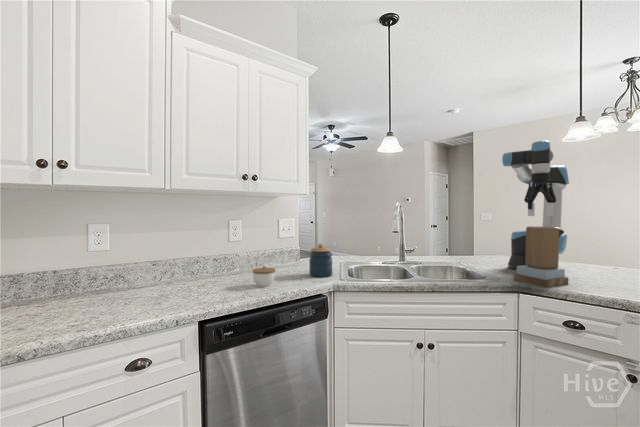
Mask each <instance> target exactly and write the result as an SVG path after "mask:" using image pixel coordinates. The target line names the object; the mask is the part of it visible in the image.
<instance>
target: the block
mask: <svg viewBox="0 0 640 427" xmlns="http://www.w3.org/2000/svg"><path fill="white" fill-rule="evenodd" d="M525 231H526V260H525V264H526V265H527V266H531V267H535V268H539V269H556V268H559V257H560V256H559V255H560V254H559V228H555V227H542V226H526V228H525Z"/></svg>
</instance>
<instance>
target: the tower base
mask: <svg viewBox="0 0 640 427" xmlns="http://www.w3.org/2000/svg"><path fill="white" fill-rule="evenodd" d="M512 276H513V281H515V282H518V283H519V282H520V283H524V282H525V284H528V283H530V284H529V285H534V286H537V287H542V288H553V287H559V286H565V285H569V276H568V277H567V276H565V277H562V278H555V279H548V280H544V279H539V278H534V277H529V276H524V275H519V274H517V273H513V274H512Z"/></svg>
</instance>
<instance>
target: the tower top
mask: <svg viewBox="0 0 640 427" xmlns="http://www.w3.org/2000/svg"><path fill="white" fill-rule="evenodd" d="M516 274H519V275H524V276H529V277H534V278H539V279H544V280H548V279H555V278H562V277H566V276H565V275H566V272H565V268H562V267H561V268H560V267H558V268H556V269H539V268H535V267H531V266H527V265H523V266H517V270H516Z"/></svg>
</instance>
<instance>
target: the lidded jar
mask: <svg viewBox="0 0 640 427" xmlns="http://www.w3.org/2000/svg"><path fill="white" fill-rule="evenodd" d="M252 277H253V278H252V279H253V282H254V283H255V285H257V287H258V288H267V287H271V285H272V284H273V283H274V281H275V278H276V269H275V267H266V265H263V266H262V267H258V268H253V269H252Z"/></svg>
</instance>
